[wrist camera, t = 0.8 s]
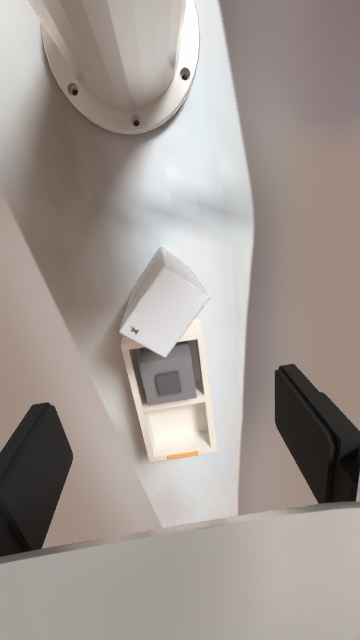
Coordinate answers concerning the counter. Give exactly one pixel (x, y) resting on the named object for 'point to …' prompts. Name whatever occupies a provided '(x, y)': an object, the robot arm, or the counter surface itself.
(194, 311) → the skincare box
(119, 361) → the counter surface
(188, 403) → the cream rectangular tray
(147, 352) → the grey square block
